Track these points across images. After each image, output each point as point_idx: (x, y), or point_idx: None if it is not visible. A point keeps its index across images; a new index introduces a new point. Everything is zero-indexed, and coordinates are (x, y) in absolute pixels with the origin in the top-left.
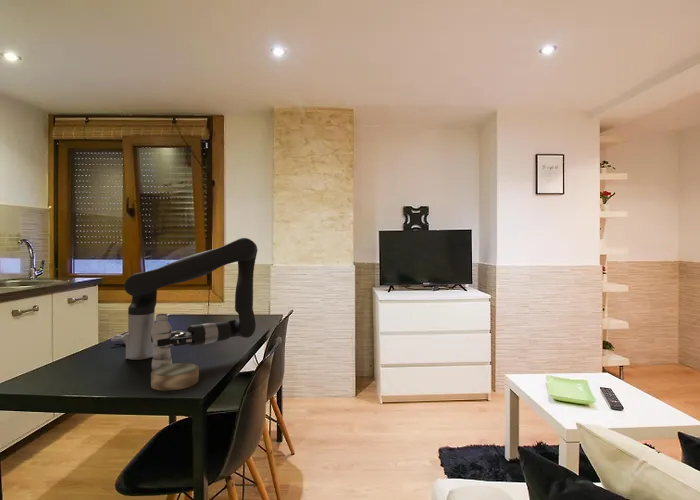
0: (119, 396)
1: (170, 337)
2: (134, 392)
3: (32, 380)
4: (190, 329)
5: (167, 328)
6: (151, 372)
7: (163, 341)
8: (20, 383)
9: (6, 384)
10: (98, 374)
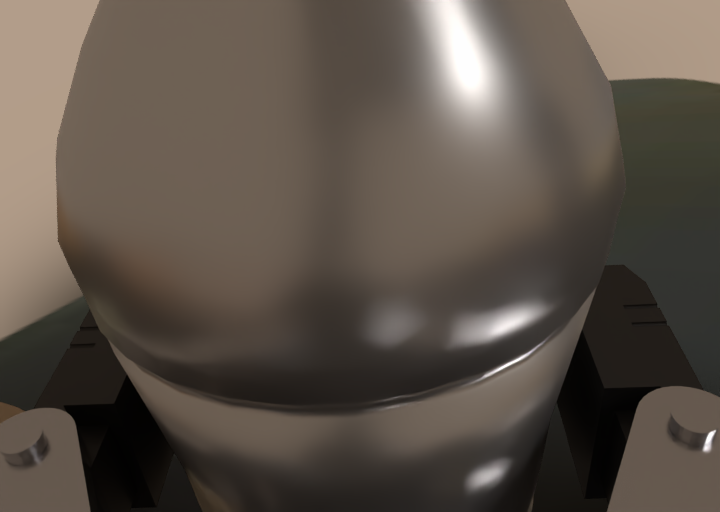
0: (56, 311)
1: (215, 482)
2: (30, 374)
3: (676, 114)
4: None
5: (58, 161)
6: (4, 406)
7: (83, 333)
8: (644, 97)
9: (654, 78)
10: (651, 277)
